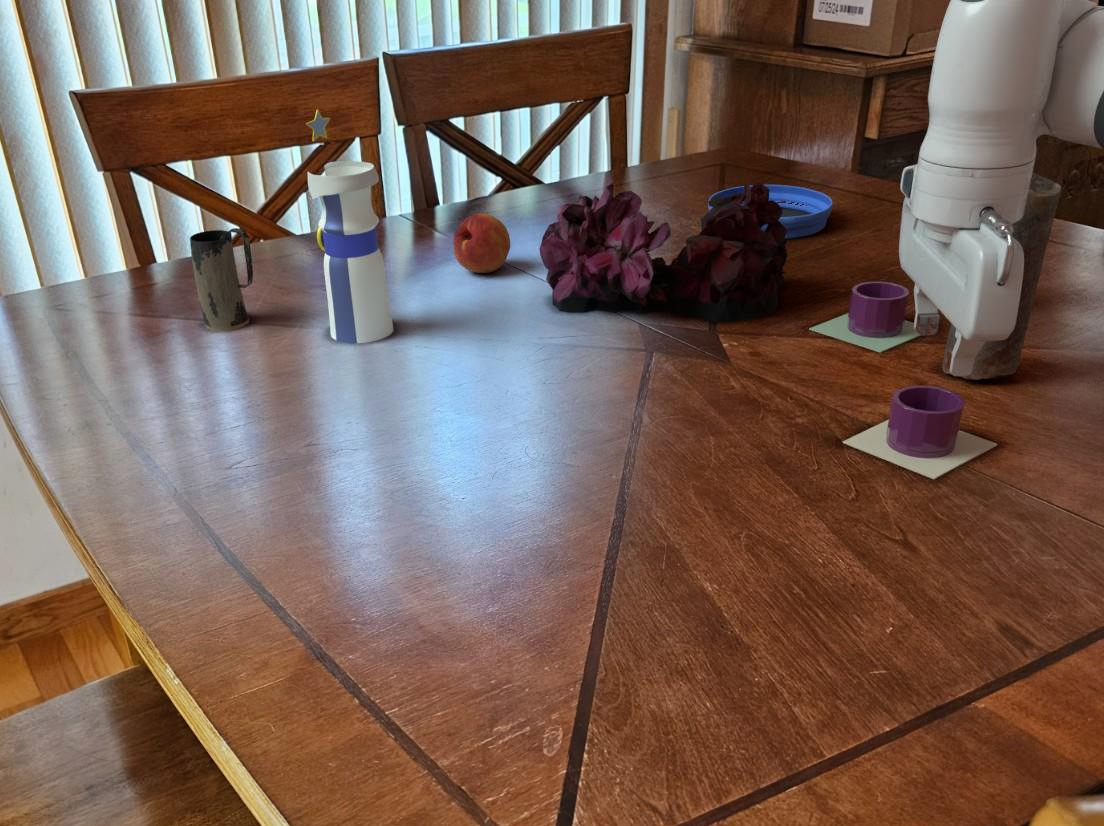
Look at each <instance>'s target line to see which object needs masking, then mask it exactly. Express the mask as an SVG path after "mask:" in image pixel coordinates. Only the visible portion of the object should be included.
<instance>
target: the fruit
mask: <svg viewBox="0 0 1104 826" xmlns="http://www.w3.org/2000/svg"><path fill="white" fill-rule="evenodd" d="M510 237H511V236H510V234H509V231H508V229H507V227H506V226H505V225H504V223H503V222H502V221H501V220H500V219H498V218H496V217H495V216H493V215H491V214H487V213H484V212H481V213H479V212H478V213H473V214H471V215H470V216H468V217H466V218H465V219H464V220H463V221H462V222H461V223H460V225H459V226H458V228H457V229H455V231H454V233H453V251H454V257H455V259H456V261H457V262H458V264H459V265H460V266H462V268H464V269H465V270H467V271H470V272H472V273H476V274H488V273H493V272H496V271H498V270H499V269H501V267H502V266H503V265H504V264H505V262H506V261H507V258H508V255H509V252H510V250H511V238H510Z"/></svg>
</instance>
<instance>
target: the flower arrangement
mask: <svg viewBox="0 0 1104 826" xmlns="http://www.w3.org/2000/svg"><path fill="white" fill-rule="evenodd" d="M752 185H753V184H752ZM765 185H766V184H763V182H760V181H758V180H757V181H756V183H755V184H754V185H753V186H752V188H751V189H750V187H749V186H750V184H748V183H747V184H745V185H743V186H744V191H743V193H734V194H732V195H730V196H728V197H716V196H715V197H714V198H713V199H711V200H710V201H709V200H708V201H707V202H708V203H709V206H711V207H713V208H712V209H711V210H710V211H709V210H708V211H707V213H706V214H705V215H704V216H703V217H702V218H701V219H700V226H701V231H700V232H699V234H694V235H692V236H688V237H687V238H686V239H685V244H686V245H685V246H684V247H682V248H681V250H680V251H679V253H678V255H677V257H675V258H673V259H672V261H671V263H670V264H667V263H666V260H665V259H664V257H663V256H661V257H659V256H658V257H657V256H656V257H655V258H652V257H651V254H650V253H649V252H651V251H653V250H655V249H658V248H661V247H662V246H663V245H664V244H665V242H666V241H667V240H668V239H669V238H670V237H671V234H672V233H671V226H670V224H669V222H668V221H666V222H663V223H661V225H659V226H658V227H657V228H656V229H655V230H653V231H651V232H649V231H650V230H651V229H652V227H653V226H654V225H655V224H656V222H655V221H654V220H650V221H649V220H648V219H649V218H648V216H646V215H644V214H643V213H642V212H641V206H642V204H643V203H642V202H643V200H642V197H641V196H639V195H638V194H637V193H636V192H633V191H632V190H626V191H621V192H618V193H617V194H616V195H615V196H614V188H615V187H614V183H613V173H611V174H610V175H609V177H608V178H607V186H606V187H605V189H604V190H603V192H602V194H601V195H600V198H599V197H598V196H597V195H594V197H593V198H591V197H589V196H587V195H581V194H579V195H578V201H576V202H574V203H566V204H562V205H558V207H557V209H558V210H557V218H556V219H557V221H556V222H553V223H551V224H549V225H548V227H547V229H546V230H545V232H544V233H543V236H542V238H541V243H540V245H539V255H540V259H541V260H542V264H543V266H544V267H545V268H546V269H547V274H546V277H545V280H546V282H547V284H548V285H549V287H550V288H551V290H552V292H551V293H552V295H551V299H552V306H553V307H555V308H556V309H557V310H558V311H559V312H563V313H567V314H585V313H589V312H594V311H600V312H601V311H602V312H611V313H619V312H620V313H622V312H624V313H625V312H635V313H638V314H639V313H640V314H645V313H650V312H669V313H673V314H677V315H683V316H687V317H688V316H689V317H692V318H693V317H694V318H697V319H701V320H705V321H710V322H713V323H734V322H741V321H746V320H752V319H757V318H759V319H760V318H762V317H765V316H768V315H770V314H772V313H773V312H774V311H775V310H777V309H778V303H779V296H778V291H779V290H780V289H781V288H783V282H784V281H783V280H784V279H785V277H784V275H783V274H786V271H783V270H784V269H783V267H784V266H785V265H786V262H787V259H788V252H787V247H786V244H787V243H788V242H787V239H785V235H786V233H787V231H788V230H787V229H785V227H784V226H783V225H782V224H781V223H780V222H779V221H778V220H779V219H780V217H781V215H782V213H783V209H782V208H781V207H780V206H779V204H778V203H777V202H775V201H773V200H770V201H769V189H768V188H767V187H766V186H765ZM743 202H744V206H743V205H741V204H742V203H743ZM765 224H768V226H767V228H766V230H765V231H763V230H761V227H762V226H763V225H765Z"/></svg>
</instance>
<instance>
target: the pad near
mask: <svg viewBox="0 0 1104 826" xmlns="http://www.w3.org/2000/svg"><path fill="white" fill-rule="evenodd" d="M888 421H889V419H886V420H885V421H883V422H881V423H878V424H877V425H874V426H872V427H870V428H868V429H866V430H864V431H861V432H860V433H858V434H856V435H853V436H851V437H848V438H847V439H845V440H843V441H842V444H844V445H847V446H850V447H852V448H854V449H857V450H859V451H861V452H864V453H867V454H869V455H872V456H874V457H876V458H879V459H882V460H884V461H887V462H889V463H892V464H894V465H896V466H899V467H902V468H905V469H907V470H909V471H912V472H914V473H916V474H919V475H922V476H924V477H927V478H928V479H929V478H930V479H932V480H937V479H938V478H940V477H942V476H943V475H945V474H947V473H949V472H951V471H953V470H955V469H957V468H958V467H960V466H962V465H965V464H966V463H968V462H969V461H971V460H974V459H976V458H977V457H979V456H980V455H982V454H985V453H986V452H988V451H990V450H991V449H994V448H995V447H997V446H998V444H999V443H996V442H994V441H991V440H988V439H985V438H982V437H980V436H976V435H974V434H971V433H969V432H965V431H963V430H960V429H959V434H958V439H957V442H956V446H955V449H954V451H953V452H952V453H950V454H948V455H946V456H942V457H937V458H918V457H912V456H908V455H904V454H901V453H899V452H897V451H895V450H893V449H892V448H890V447H889V446H888V444H887V443H886V436H887V434H886V433H887V427H888Z"/></svg>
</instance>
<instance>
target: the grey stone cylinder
mask: <svg viewBox="0 0 1104 826" xmlns="http://www.w3.org/2000/svg"><path fill="white" fill-rule="evenodd" d="M1061 193H1062V185H1061V184H1059V183H1058V182H1055V181H1054V180H1052V179H1049V178H1046V177H1044V176H1042V175H1040V174H1039V173H1036V172H1032V177H1031V181H1030V186H1029V191H1028V195H1027V200H1026V205H1025V210H1024V215H1023V217H1022V218H1021V219H1020V220H1019V221H1017V222H1015V223H1013V224H1012V226H1013V233H1012V235H1013V238H1014V239H1015V240H1017V241H1018V242H1019V243H1020V245H1021V247H1022V249H1023V253H1024V271H1023V280H1022V288H1021V295H1020V301H1019V307H1018V314H1017V319H1016V324H1015V327H1014V330H1013V331H1012V333H1011V334H1010V336H1009V337H1008V338H1007V339H1005V340H998V341H986V342H985V343H984V345H983V346H982V348H981V349H980V351H979V353H978V354H977V356H975V361H974V366H973V371H972V373H971V374H970V375H968V376H959V377H960V378H962V379H965V380H967V381H979V380H996V381H997V380H999V379H1005V378H1006V377H1009V376H1012V375H1014V374H1015V373H1016V371H1017V369H1018V367H1019V364H1020V359H1021V355H1022V351H1023V347H1024V343H1025V339H1026V336H1027V331H1028V327H1029V323H1030V318H1031V314H1032V310H1033V306H1034V302H1035V298H1036V297H1035V296H1036V294H1037V289H1038V284H1039V281H1040V277H1041V273H1042V269H1043V264H1044V260H1045V256H1046V252H1047V247H1048V243H1049V240H1050V236H1051V232H1052V228H1053V227H1052V226H1053V222H1054V219H1055V214H1056V211H1057V207H1058V203H1059V201H1060V196H1061ZM955 333H956V328H955V327H954V326H953V325H952V323H951V322H950V327H949V332H948V336H947V341H946V345H945V351H944V355H943V359H942V365H941V369H942V371H943V373H944V374H946V375H952V374H951V373H950V372H949V370H948V369H947V367H946V363H947V361H948V359H947V358H948V352H949V351H953V349H954V346H955V344H956V341H957V338H956V337H955Z"/></svg>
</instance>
